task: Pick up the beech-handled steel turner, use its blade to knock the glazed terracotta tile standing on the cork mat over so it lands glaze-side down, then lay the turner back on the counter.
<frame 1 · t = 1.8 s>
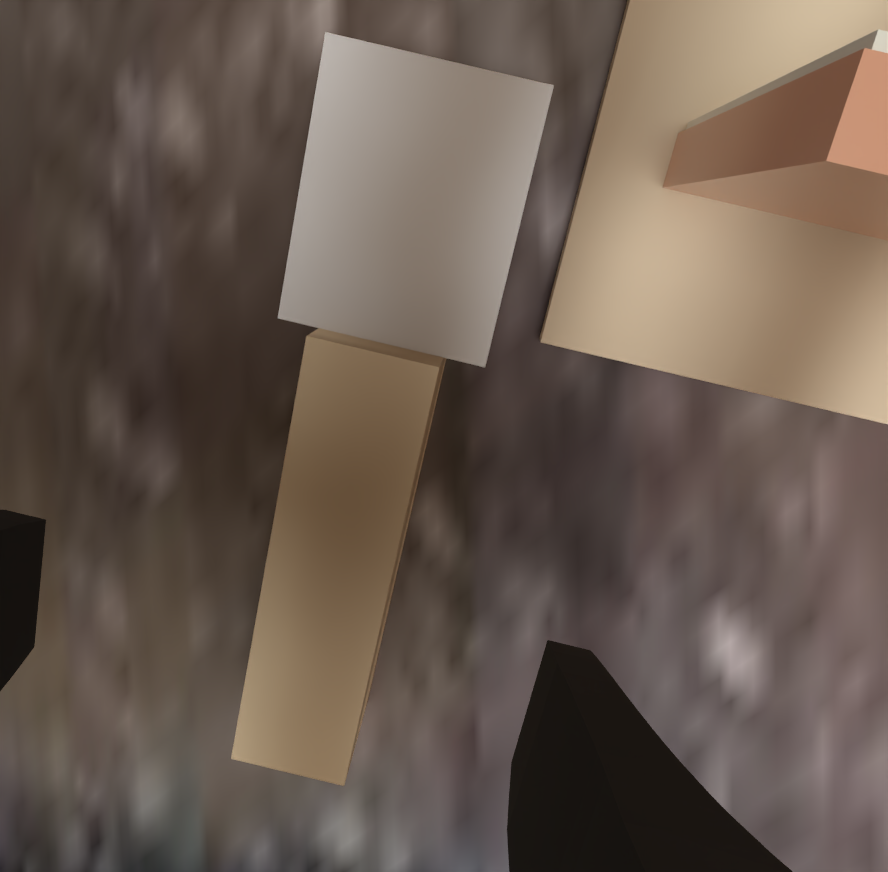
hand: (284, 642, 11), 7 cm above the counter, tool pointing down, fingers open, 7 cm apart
turner: (376, 417, 17), on the counter
tile: (852, 197, 15), resting on cork mat
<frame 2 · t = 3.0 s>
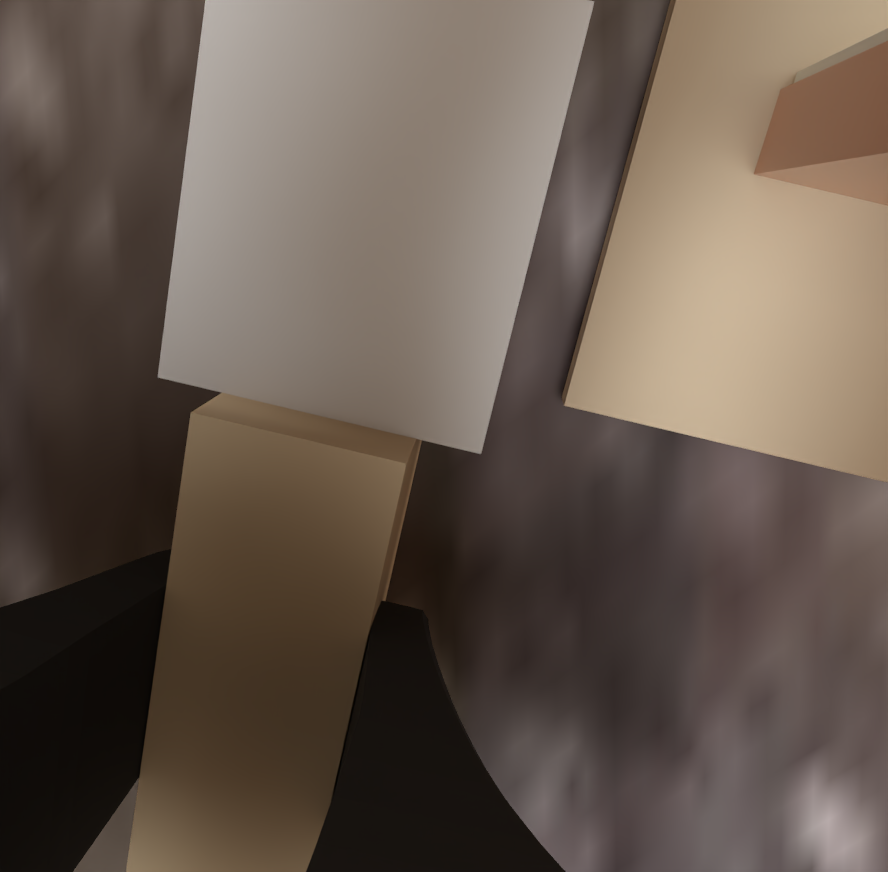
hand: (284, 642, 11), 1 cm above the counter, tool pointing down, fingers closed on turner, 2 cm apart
turner: (324, 508, 12), on the counter, touching gripper
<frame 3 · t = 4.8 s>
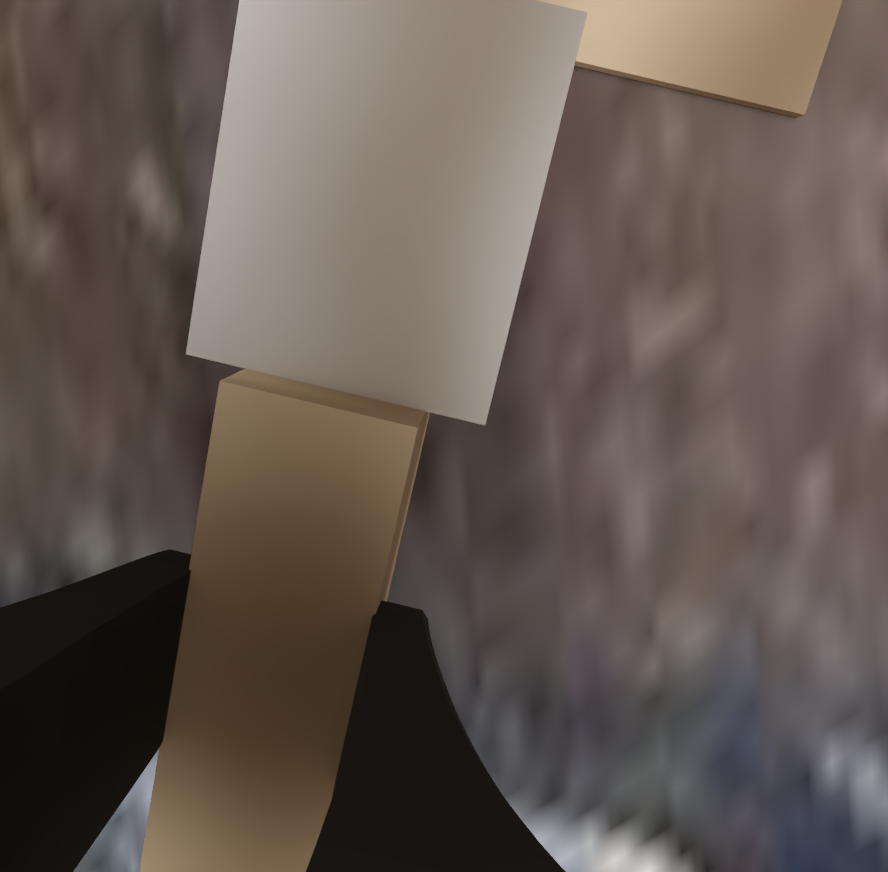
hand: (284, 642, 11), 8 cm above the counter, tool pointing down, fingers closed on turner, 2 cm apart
turner: (335, 488, 13), point 6 cm above the counter, touching gripper
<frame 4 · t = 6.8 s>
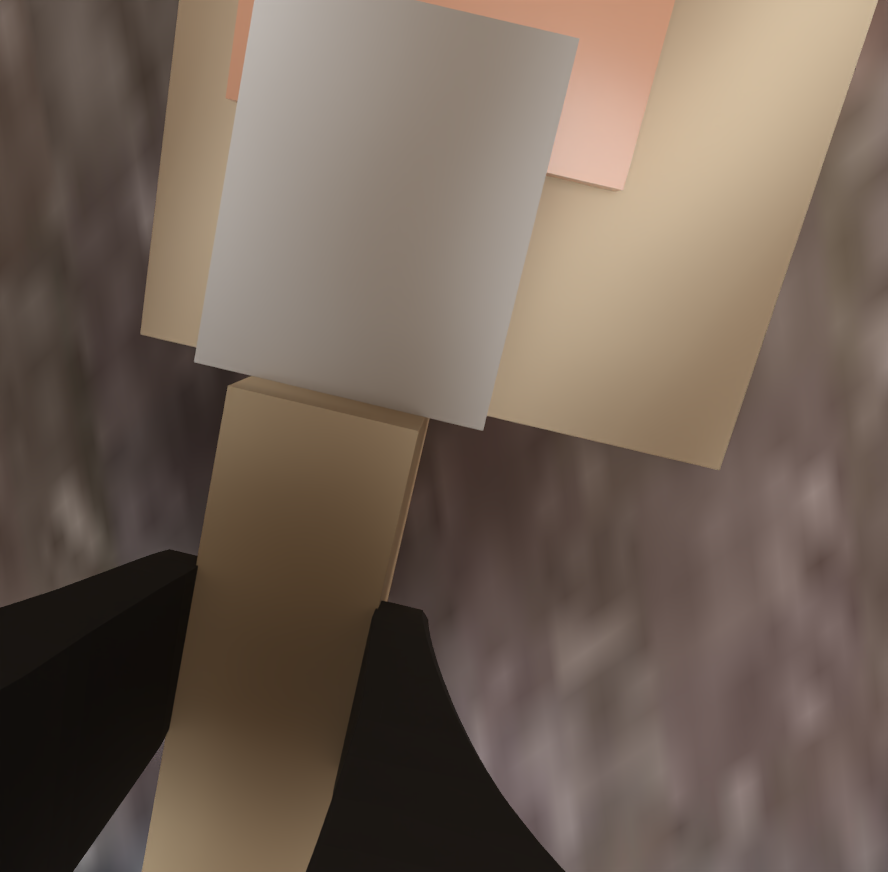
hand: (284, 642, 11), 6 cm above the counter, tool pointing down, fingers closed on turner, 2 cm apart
cork mat: (512, 34, 15), on the counter
turner: (336, 496, 13), point 4 cm above the counter, touching gripper
tile: (427, 146, 14), point 1 cm above the counter, tilted 90°, touching cork mat
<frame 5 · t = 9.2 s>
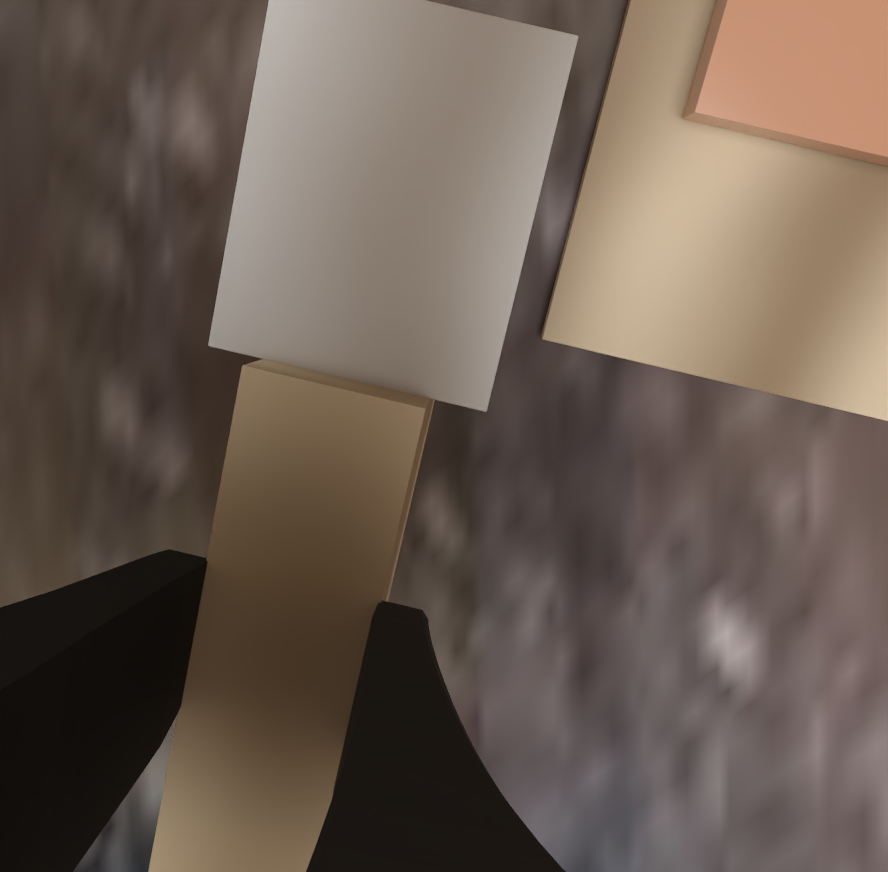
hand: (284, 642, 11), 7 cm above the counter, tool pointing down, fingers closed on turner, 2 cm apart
turner: (342, 481, 14), point 5 cm above the counter, tilted 6°, touching gripper
tile: (872, 159, 15), point 1 cm above the counter, tilted 90°, touching cork mat
when the fingers open (2 cm above the counter, at t = 10.7 s): turner stays where it is, on the counter.
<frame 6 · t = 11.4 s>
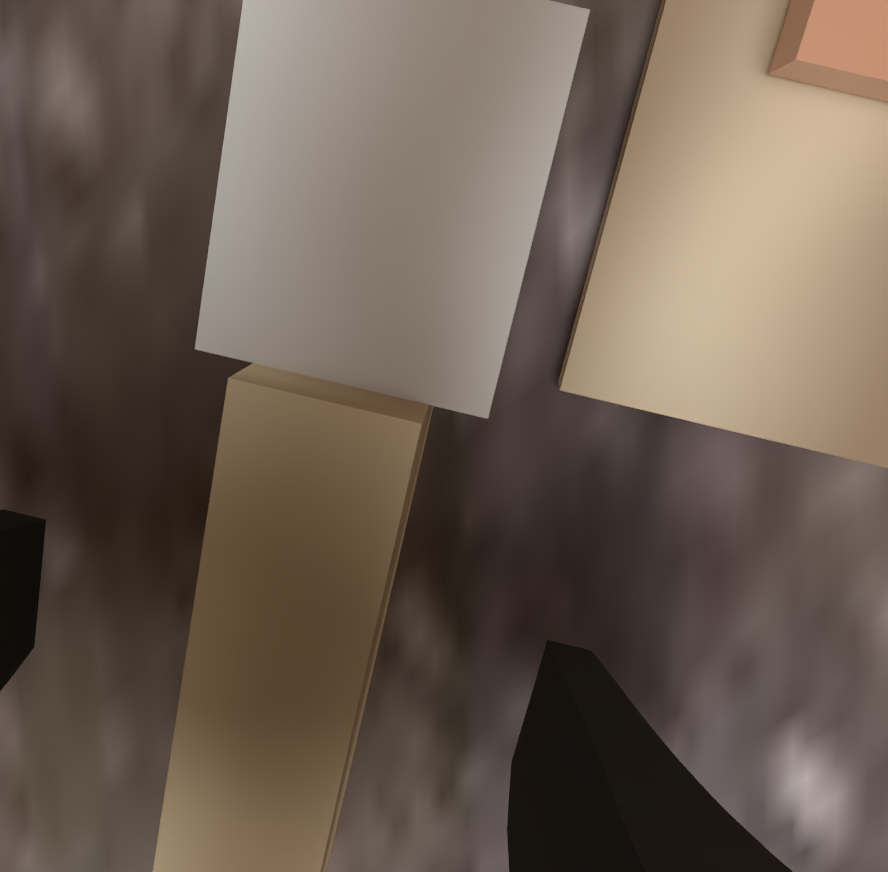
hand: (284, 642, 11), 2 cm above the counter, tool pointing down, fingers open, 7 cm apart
turner: (342, 475, 13), on the counter
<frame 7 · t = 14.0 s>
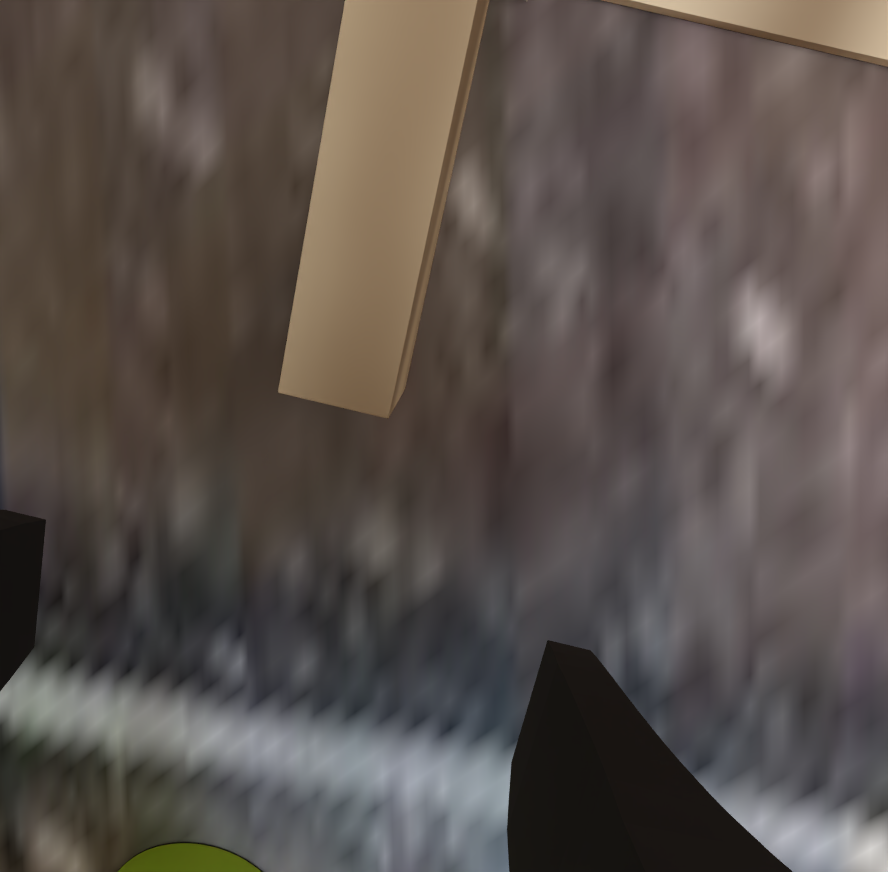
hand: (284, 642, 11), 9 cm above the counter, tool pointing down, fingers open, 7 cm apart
turner: (417, 78, 18), on the counter
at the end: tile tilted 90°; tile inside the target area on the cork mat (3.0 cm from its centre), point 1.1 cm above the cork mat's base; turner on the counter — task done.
